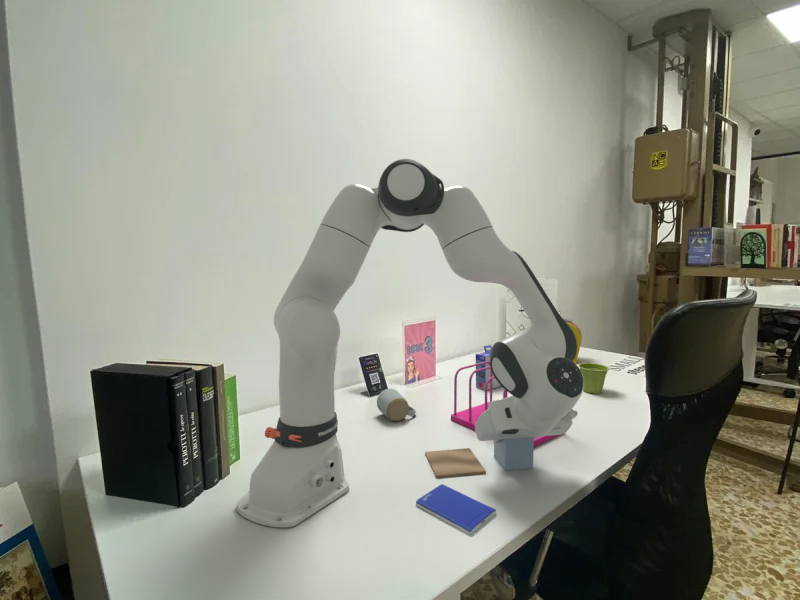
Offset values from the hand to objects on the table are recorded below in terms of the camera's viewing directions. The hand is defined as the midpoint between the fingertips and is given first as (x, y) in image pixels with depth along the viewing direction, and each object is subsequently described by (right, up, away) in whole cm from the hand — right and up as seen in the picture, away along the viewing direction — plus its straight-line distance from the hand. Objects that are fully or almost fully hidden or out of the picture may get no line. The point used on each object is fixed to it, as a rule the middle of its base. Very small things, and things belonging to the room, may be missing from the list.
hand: (512, 438), depth 96 cm
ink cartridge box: (+6, +1, +54) cm, 55 cm away
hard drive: (-15, -8, -17) cm, 24 cm away
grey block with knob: (0, -5, 0) cm, 5 cm away
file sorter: (+3, -4, +20) cm, 21 cm away
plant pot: (+40, 0, +48) cm, 63 cm away
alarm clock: (+45, +5, +89) cm, 100 cm away
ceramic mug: (-26, -3, +27) cm, 38 cm away
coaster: (-13, -6, 0) cm, 14 cm away
